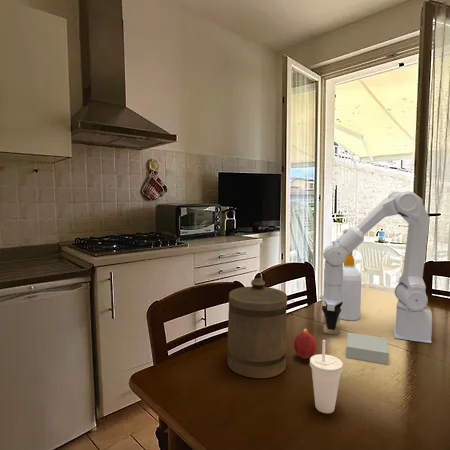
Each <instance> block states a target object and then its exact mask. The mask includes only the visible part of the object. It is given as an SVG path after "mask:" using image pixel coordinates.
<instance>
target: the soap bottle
mask: <svg viewBox="0 0 450 450" xmlns="http://www.w3.org/2000/svg"><path fill="white" fill-rule="evenodd" d="M353 252H354V250H353V251H352V252H351V253H349V255H346V260H345V262H344V263H343V297H342V298H343V304H342V305H341V307H340V309H341V312H340V320H344V321H358V320H360V318H361V304H362V302H361V301H362V300H361V299H362V298H361V297H362V280H363V279H362V276H361V272H360V271H359V269H358V268H357V267H356V266H355V258H354V256H353Z"/></svg>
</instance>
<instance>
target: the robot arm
mask: <svg viewBox="0 0 450 450" xmlns="http://www.w3.org/2000/svg"><path fill="white" fill-rule="evenodd" d="M423 202H424V200H423V199H422V198H421V197H420V196H419V195H417V194H416V193H415V192H413V191H409V190H407V191H406V190H405V191H393V192H392V193H390V194H389V195H388V196H387V197H385V198H384V199H383V200H381V201H380V203H378V204H377V205H376V207H374V208H373V209H372V210H371V211H370V212H369V214H367V216H365V218H363V220H362V221H360V223H358V224H357V226H354V227H352V226H351V227H349V228H347V229H346V228H344V229H343V230H342V233H341V235H340V236H339V237H338V238H337V239H336V240H332V241H331V242H330V243H331V245H327V247H325V248H324V251H323V253H322V255H323V256H322V257H323V258H324V264H323V265H324V268H323V293H322V294H323V295H319V297H318V298H319V300H323V302H324V304H325V305H321V310H322V313H323V316H324V315H325V318H326V323H327V328H328V329H330V330H335V327H336V323H337V318H338V316H339V314H340V312H341V309H340V307H341V305H342V304H343V298H342V297H343V266H344V262H345V260H346V255H349V253H351V252H352V251H353V252H354V251H355V250H356V248H358V247H359V246H360V245H361V244H362V243H363V242H364V241H365V235H366V234H367V233H368V232H369V231H371V230H372V229H373V228H374V227H376V225H377V224H379V223H380V222H381V221H382V220H383V219H385V218H387V217H392V216H397V215H399V216H401V218H402V219H403V220H405V222H406V223H408V224H407V225H408V226H407V233H406V234H407V236H406V244H405V250H404V252H405V253H404V260H403V268H402V269H403V270H402V274H401V276H400V277H399V278H398V279H399V280H398V282H397V283H398V284H397V285H396V286H395V288H394V296H395V298H396V299H397V302H396V310H395V311H396V312H395V313H396V315H395V327H393V328H392V331H393V335H394V338H395V339H397V340H398V339H399V340H406V341H413V342H419V343H427V344H432V335H433V334H432V331H433V313H432V310H431V309H428V308H426V306H427V305H428V302H429V301H428V300H429V299H428V296H427V293H426V290H427V289H426V288H427V286H426V283H425V281H424V279H423V277H424V268H425V261H426V252H427V244H428V235H429V227H430V216H429V214H428V212H427V210H426V207H425V206H424V204H423ZM353 252H352V253H353Z"/></svg>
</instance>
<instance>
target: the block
mask: <svg viewBox="0 0 450 450" xmlns="http://www.w3.org/2000/svg"><path fill="white" fill-rule="evenodd" d="M323 317H324V318H323V333H324V334H331V335H338V336H339V335H340V330H341V319H340V314H339V316H338V318H337V323H336V327H335V330H330V329H328V328H327V323H326V318H325V315H324V314H323Z"/></svg>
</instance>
